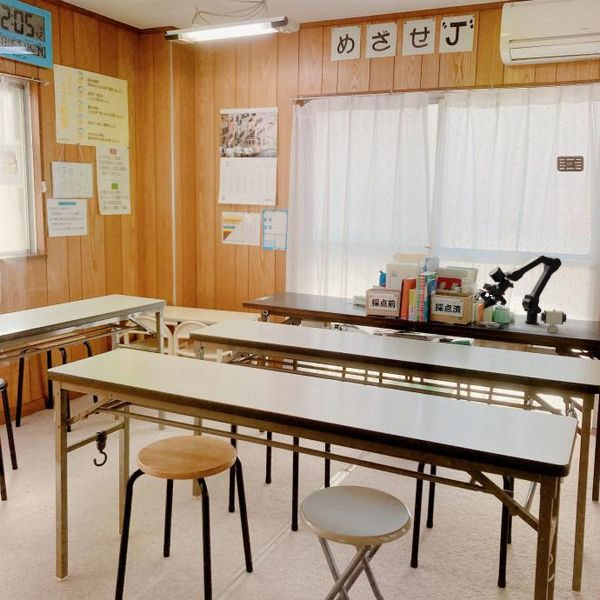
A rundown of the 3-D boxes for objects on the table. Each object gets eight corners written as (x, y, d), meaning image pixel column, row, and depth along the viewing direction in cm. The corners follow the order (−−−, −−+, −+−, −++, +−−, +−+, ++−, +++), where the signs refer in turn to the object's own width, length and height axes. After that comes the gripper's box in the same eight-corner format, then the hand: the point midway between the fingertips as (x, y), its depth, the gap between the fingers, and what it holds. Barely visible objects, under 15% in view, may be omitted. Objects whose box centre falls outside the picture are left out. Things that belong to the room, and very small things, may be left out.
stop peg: (496, 327, 331) (497, 322, 331) (502, 327, 331) (503, 322, 331) (497, 328, 328) (498, 323, 328) (503, 328, 328) (504, 323, 328)
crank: (500, 327, 328) (501, 306, 327) (495, 328, 326) (496, 307, 324) (480, 324, 338) (481, 303, 336) (475, 324, 335) (476, 304, 334)
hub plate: (484, 326, 334) (484, 324, 333) (497, 326, 333) (497, 324, 333) (486, 328, 327) (486, 326, 327) (500, 329, 326) (500, 327, 326)
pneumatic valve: (565, 333, 317) (567, 310, 315) (540, 332, 320) (542, 309, 318) (563, 331, 322) (565, 308, 320) (539, 330, 325) (541, 307, 323)
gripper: (482, 275, 343) (463, 296, 342) (503, 280, 326) (484, 301, 324) (493, 289, 347) (474, 309, 346) (514, 294, 330) (495, 316, 328)
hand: (482, 309), depth 336 cm, fingers closed, pressing on crank
